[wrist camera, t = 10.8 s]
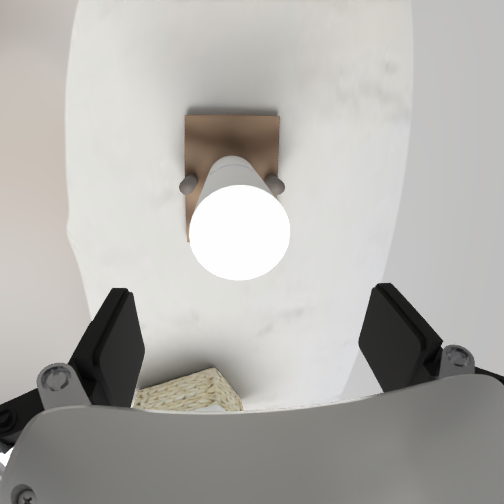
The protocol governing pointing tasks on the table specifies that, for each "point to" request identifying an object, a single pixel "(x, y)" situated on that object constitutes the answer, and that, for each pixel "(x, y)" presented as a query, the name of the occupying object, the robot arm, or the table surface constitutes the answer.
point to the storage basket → (191, 394)
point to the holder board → (228, 150)
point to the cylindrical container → (238, 222)
